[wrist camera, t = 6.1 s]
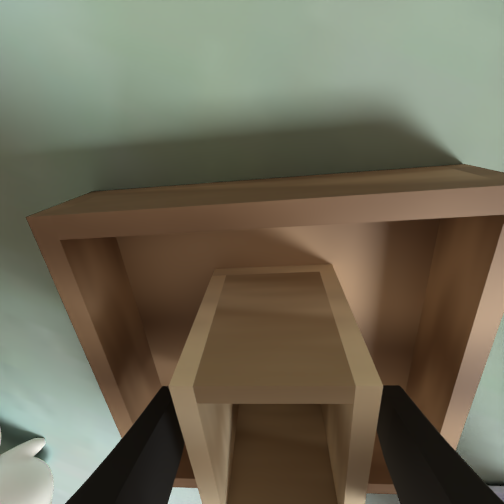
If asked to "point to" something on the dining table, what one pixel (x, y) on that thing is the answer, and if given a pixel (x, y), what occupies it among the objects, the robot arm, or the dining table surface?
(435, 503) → the robot arm
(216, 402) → the small crate
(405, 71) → the dining table surface
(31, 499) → the cat figurine
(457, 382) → the large crate
